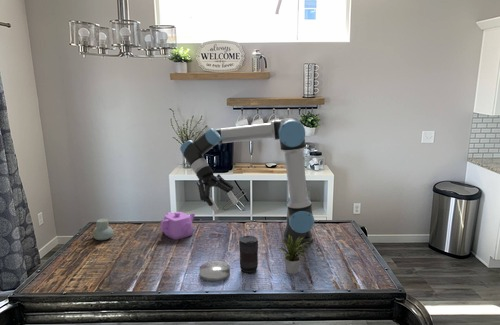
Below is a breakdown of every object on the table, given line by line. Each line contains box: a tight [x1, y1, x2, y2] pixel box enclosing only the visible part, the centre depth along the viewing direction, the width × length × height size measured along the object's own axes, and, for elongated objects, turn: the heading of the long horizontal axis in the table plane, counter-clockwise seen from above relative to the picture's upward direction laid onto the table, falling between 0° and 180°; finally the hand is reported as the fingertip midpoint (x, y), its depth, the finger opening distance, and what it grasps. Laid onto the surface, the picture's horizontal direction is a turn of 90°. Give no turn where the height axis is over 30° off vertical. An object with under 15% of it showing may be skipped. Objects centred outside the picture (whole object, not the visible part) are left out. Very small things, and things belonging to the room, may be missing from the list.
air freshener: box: [92, 218, 115, 241], centre depth 199 cm, size 11×8×10 cm
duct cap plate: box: [199, 260, 231, 283], centre depth 162 cm, size 13×13×3 cm
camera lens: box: [238, 235, 259, 275], centre depth 164 cm, size 8×8×15 cm
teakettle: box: [160, 211, 196, 241], centre depth 204 cm, size 17×17×12 cm
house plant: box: [278, 235, 311, 275], centre depth 162 cm, size 14×14×16 cm
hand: (227, 207), depth 170 cm, fingers open, 13 cm apart
